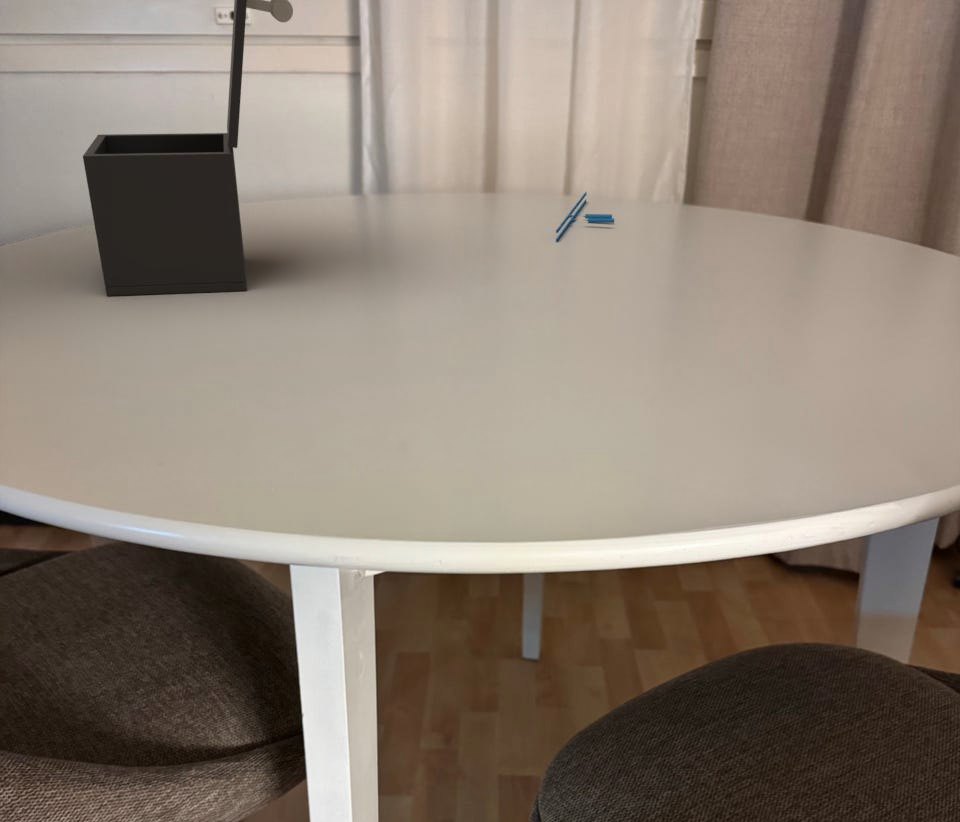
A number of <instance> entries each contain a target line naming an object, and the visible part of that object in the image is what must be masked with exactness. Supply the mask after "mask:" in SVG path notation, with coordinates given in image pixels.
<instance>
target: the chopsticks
mask: <svg viewBox="0 0 960 822" xmlns="http://www.w3.org/2000/svg"><path fill="white" fill-rule="evenodd" d="M587 195H588V194H587V191H585V192H584V193H583V194H582V196H581V197H580V198H579V200H578V201H577V202H576V203H575V204H574V206H573V207H572V209H571V210H570V211H569V212H568V214H567V215H566V217H565V218H564V219H563V221H562V222H561V223H560V225H559V226H558V227H557V228H556V229H555V234H558V233H559V232H560V231H561V232H560V233H559V234H558V236H557V237H556V238H555V242H556V243H558V242H559V241H560V239H561V238H562V236H563V235H564V234H565V232H566V231H567V230H568V228H569V227H570V226H571V224H572V223H574V222H575V221H577V219H576V217H578V214H579V213H580V212H581V210H582V209H583V208H584V207H585V205H586V203H587V199H585V197H586V196H587ZM584 199H585V200H584ZM583 200H584V201H583ZM582 201H583V202H582ZM581 202H582V203H581ZM580 204H581V205H580ZM579 205H580V206H579ZM578 207H579V208H578ZM577 208H578V209H577ZM576 209H577V210H576ZM575 211H576V212H575ZM574 212H575V213H574ZM573 213H574V214H573ZM583 218H585V219H584V220H586V221H587V223H596V224H597V223H599V224H603V223H604V224H615V218H614V217H613V214H610V213H609V214H608V213H607V214H605V213H600V214H599V213H585V215H583ZM569 219H570V220H569ZM566 222H567V223H566ZM565 224H566V225H565ZM563 227H564V228H563ZM561 229H562V230H561Z"/></svg>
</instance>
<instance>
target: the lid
mask: <svg viewBox="0 0 960 822" xmlns="http://www.w3.org/2000/svg"><path fill="white" fill-rule="evenodd" d="M233 1H234V3H233V17H232V18H233V19H232V20H233V21H232V34H231V35H232V37H231V52H230V70H229V86H228V101H227V103H228V104H227V119H226V133H227V136H228V147H233V149H238V143H239V128H240V112H241V97H242V82H243V67H244V66H243V65H244V52H245V50H244V49H245V37H246V35H245V34H246V21H247V20H246V18H247V9H251V10H257V11H262V12H265V13H269V14H270V15H271V16H272V17H273V18H274V19H275V20H276V21H278V22H280V23H287V22H290V20H292V18H293V15H294V7H293V5H292V3H291V2H290V1H289V0H270V1H269V0H233Z"/></svg>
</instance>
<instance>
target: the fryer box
mask: <svg viewBox="0 0 960 822" xmlns="http://www.w3.org/2000/svg"><path fill="white" fill-rule="evenodd" d="M82 161H83V166H84V172H85V177H86V183H87V189H88V195H89V202H90V207H91V213H92V219H93V224H94V230H95V235H96V241H97V247H98V253H99V259H100V264H101V265H100V266H101V271H102V277H103V282H104V287H105V294H106V296H107V297H114V296H115V297H119V296H121V297H122V296H143V295H144V296H145V295H148V296H149V295H171V294H173V295H174V294H175V295H176V294H197V293H224V292H225V293H226V292H247V291H248V285H247V273H246V261H245V251H244V242H243V241H244V239H243V230H242V222H241V213H240V211H241V210H240V203H239V201H240V200H239V193H238V183H237V182H238V181H237V173H236V162H235V153H234V148H233V147H228V136H227V132H211V133H210V132H209V133H208V132H207V133H206V132H205V133H204V132H203V133H202V132H201V133H200V132H199V133H197V132H196V133H131V134H130V133H123V134H122V133H120V134H119V133H118V134H115V133H114V134H113V133H112V134H111V133H110V134H97V135H96V137H94V139H93V141H92V142H91V144H90V145H89V147H88V148H87V149H86V150H85V152H84V154H83V155H82Z"/></svg>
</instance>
